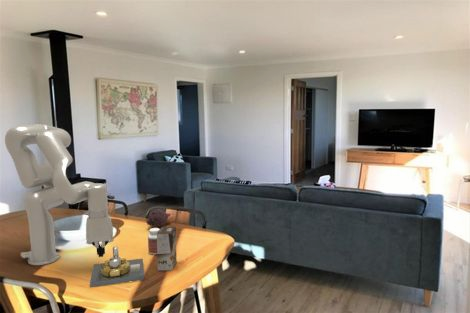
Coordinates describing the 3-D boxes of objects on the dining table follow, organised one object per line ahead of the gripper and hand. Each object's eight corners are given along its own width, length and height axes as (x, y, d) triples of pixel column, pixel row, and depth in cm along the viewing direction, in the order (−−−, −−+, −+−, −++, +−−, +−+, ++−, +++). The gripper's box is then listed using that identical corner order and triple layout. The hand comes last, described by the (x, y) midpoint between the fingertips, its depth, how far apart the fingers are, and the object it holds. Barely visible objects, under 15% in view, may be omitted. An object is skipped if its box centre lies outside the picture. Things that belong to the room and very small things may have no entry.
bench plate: (90, 287, 137) (89, 269, 136) (93, 268, 152) (92, 252, 151) (144, 279, 142) (143, 263, 141) (142, 262, 157) (142, 247, 156)
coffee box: (172, 270, 150) (171, 233, 147) (157, 270, 150) (156, 233, 148) (177, 261, 159) (176, 226, 157) (162, 261, 159) (161, 226, 157)
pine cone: (153, 232, 194) (152, 215, 192) (140, 229, 199) (139, 212, 197) (174, 223, 209) (174, 206, 207) (161, 220, 214) (161, 204, 212)
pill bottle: (162, 254, 166) (161, 231, 165) (148, 255, 165) (147, 232, 163) (161, 249, 172) (161, 226, 171) (148, 250, 171) (147, 227, 169)
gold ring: (129, 274, 142) (128, 259, 141) (100, 278, 139) (99, 262, 138) (129, 258, 156) (128, 245, 155) (102, 261, 153) (102, 247, 152)
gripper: (77, 217, 143) (80, 261, 146) (116, 214, 147) (119, 257, 149) (80, 212, 150) (83, 254, 153) (118, 209, 154) (120, 250, 157)
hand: (101, 255), depth 151 cm, fingers closed
